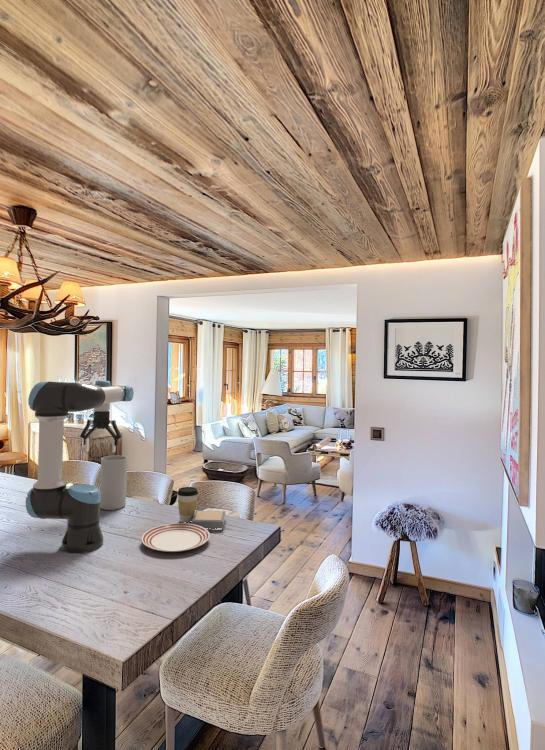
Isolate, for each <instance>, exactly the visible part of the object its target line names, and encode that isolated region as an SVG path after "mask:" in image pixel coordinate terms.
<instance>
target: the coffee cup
mask: <svg viewBox="0 0 545 750" xmlns="http://www.w3.org/2000/svg"><path fill="white" fill-rule="evenodd" d="M198 494H199V491H198V489H197V488H196V487H194V486H183V487H179V488H178V491H177V493H176V495H177V504H178V514H179V522H180V521H182V522H190V521H192V519H193V517H194V515H195V512H196V507H197V501H198Z"/></svg>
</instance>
